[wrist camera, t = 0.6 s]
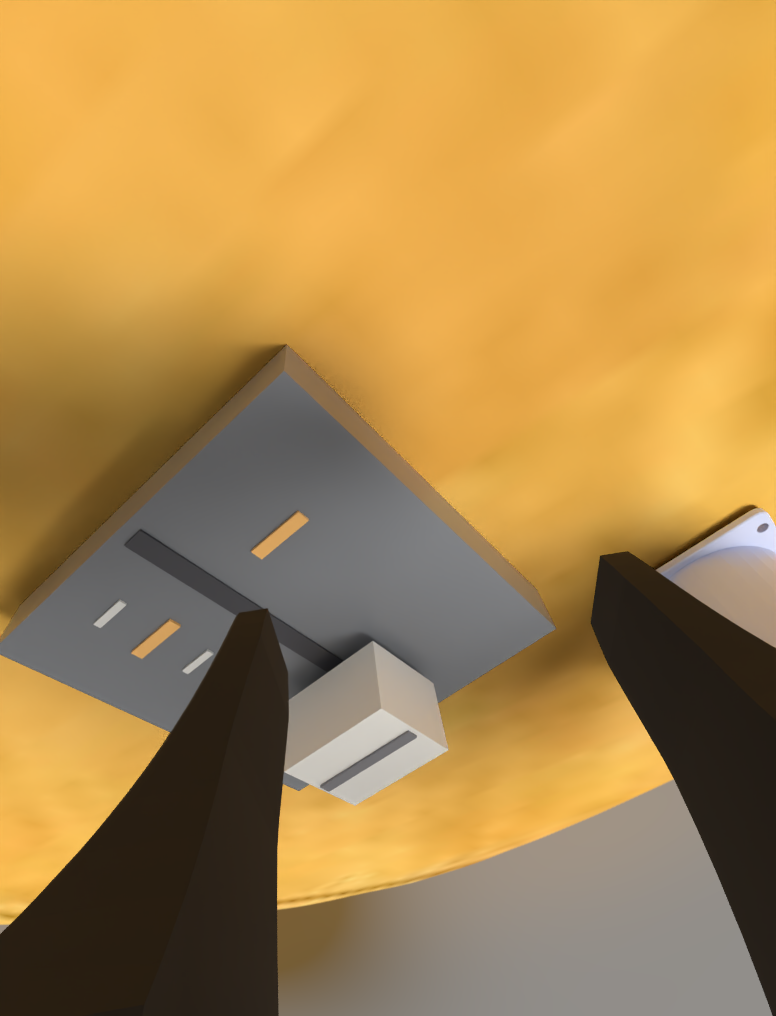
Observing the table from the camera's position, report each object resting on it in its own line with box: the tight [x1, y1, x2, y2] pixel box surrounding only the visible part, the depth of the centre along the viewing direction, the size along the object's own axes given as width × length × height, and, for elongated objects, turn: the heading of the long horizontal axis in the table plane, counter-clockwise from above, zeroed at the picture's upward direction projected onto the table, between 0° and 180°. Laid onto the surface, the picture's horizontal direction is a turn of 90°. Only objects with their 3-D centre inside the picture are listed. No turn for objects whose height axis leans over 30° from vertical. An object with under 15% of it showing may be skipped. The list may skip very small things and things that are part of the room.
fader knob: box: [284, 641, 448, 805], centre depth 23 cm, size 4×5×4 cm
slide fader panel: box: [0, 345, 556, 791], centre depth 24 cm, size 16×16×3 cm
